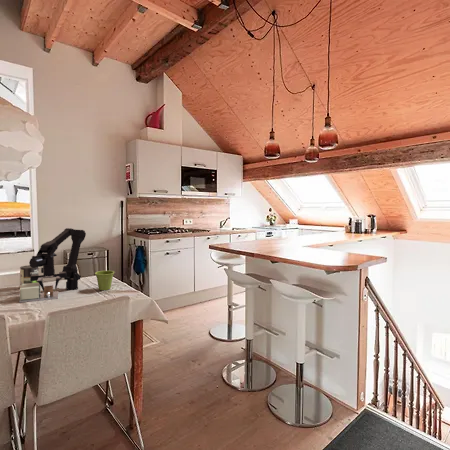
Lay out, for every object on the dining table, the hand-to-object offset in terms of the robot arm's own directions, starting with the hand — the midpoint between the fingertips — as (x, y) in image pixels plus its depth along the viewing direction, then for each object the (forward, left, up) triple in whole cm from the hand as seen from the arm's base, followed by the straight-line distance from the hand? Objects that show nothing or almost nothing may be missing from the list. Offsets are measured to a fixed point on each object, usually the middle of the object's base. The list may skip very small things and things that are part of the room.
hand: (49, 290), depth 183 cm
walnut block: (+1, 0, -3) cm, 3 cm away
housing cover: (+10, 0, -2) cm, 10 cm away
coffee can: (+13, -27, -4) cm, 30 cm away
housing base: (+5, 0, -4) cm, 6 cm away
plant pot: (-31, -3, -4) cm, 32 cm away
